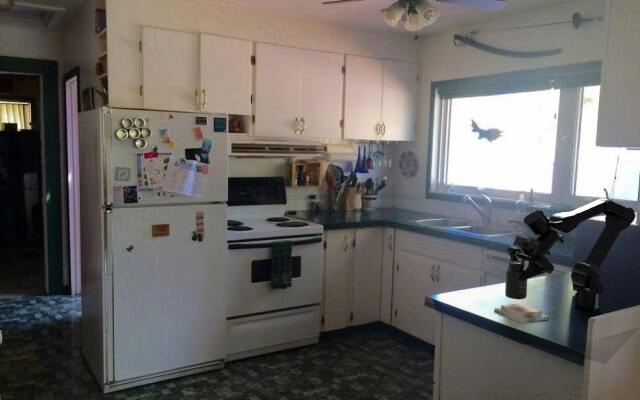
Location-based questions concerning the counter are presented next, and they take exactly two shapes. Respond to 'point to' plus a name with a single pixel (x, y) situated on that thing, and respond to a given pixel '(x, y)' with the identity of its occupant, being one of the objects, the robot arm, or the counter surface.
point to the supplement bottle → (515, 281)
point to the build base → (520, 320)
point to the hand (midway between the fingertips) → (513, 277)
